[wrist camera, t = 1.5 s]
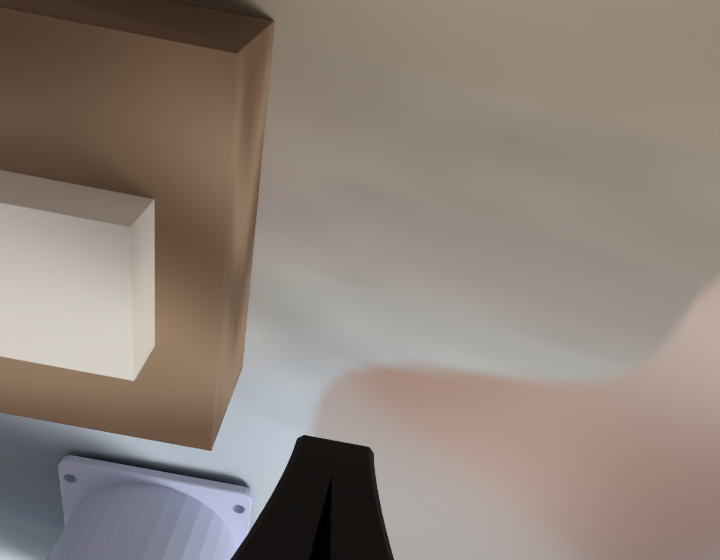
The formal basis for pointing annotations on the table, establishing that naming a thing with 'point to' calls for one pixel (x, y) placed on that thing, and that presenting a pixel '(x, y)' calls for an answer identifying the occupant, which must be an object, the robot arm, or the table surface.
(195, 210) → the brown block
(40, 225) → the cream tile
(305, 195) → the table surface
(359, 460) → the robot arm
